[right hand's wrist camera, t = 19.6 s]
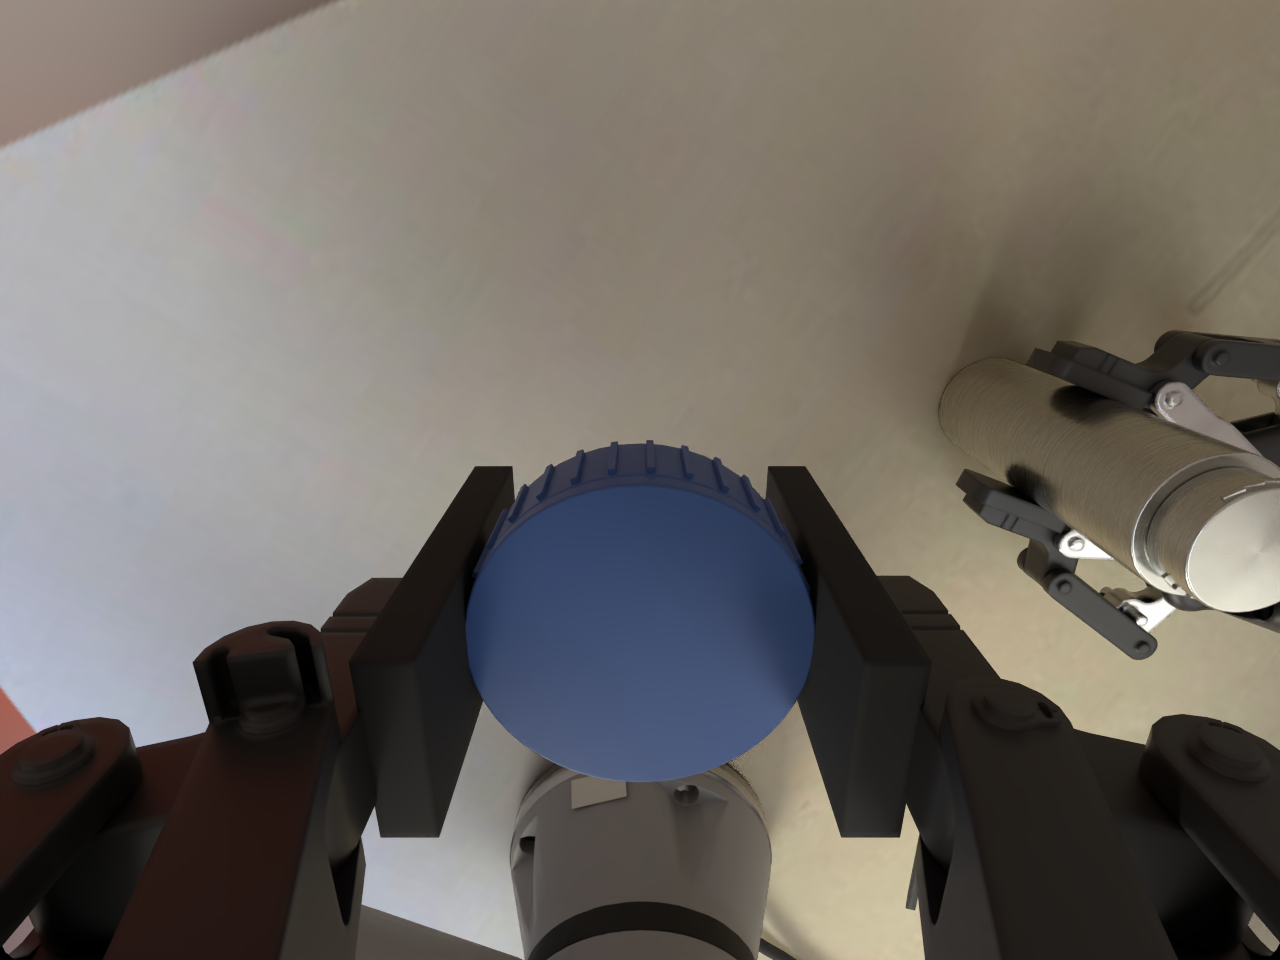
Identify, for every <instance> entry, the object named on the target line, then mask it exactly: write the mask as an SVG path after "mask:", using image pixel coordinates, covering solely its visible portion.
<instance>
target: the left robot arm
mask: <svg viewBox="0 0 1280 960" xmlns="http://www.w3.org/2000/svg"><path fill="white" fill-rule="evenodd" d="M1026 365H1027V366H1030V367H1032V368H1035V369H1037V370H1040V371H1042V372H1044V373H1047V374H1049V375H1052V376H1054V377H1057V378H1059V379H1062V380H1064V381H1066V382H1069V383H1071V384H1074V385H1076V386H1079V387H1081V388H1084V389H1087V390H1089V391H1092V392H1094V393H1097V394H1100V395H1102V396H1105V397H1107V398H1110V399H1113V400H1115V401H1119V402H1121V403H1124V404H1127V405H1129V406H1132V407H1134V408H1137V409H1140V410H1142V411H1145V412H1147V413H1150V414H1153V415H1155V416H1158V417H1160V418H1163V419H1166V420H1168V421H1171V422H1173V423H1176V424H1179V425H1181V426H1184V427H1186V428H1189V429H1192V430H1194V431H1197V432H1199V433H1202V434H1205V435H1207V436H1210V437H1212V438H1215V439H1218V440H1220V441H1223V442H1226V443H1228V444H1231V445H1233V446H1236V447H1239V448H1241V449H1244V450H1246V451H1249V452H1252V453H1254V454H1257V455H1259V456H1262V457H1264V458H1266V459H1268V460H1270V461H1272V462H1273V463H1274V464H1276V465H1277V466H1278V467H1279V468H1280V340H1275V339H1264V338H1253V337H1242V336H1232V335H1221V334H1210V333H1199V332H1188V331H1178V330H1173V331H1169V332H1166V333H1165V334H1163V335H1162V336H1161V337H1160V338H1159V339H1158V340H1157V342H1156V344H1155V347H1154V354H1152V355H1151V356H1150V357H1149V358H1148V359H1146V360H1145V361H1143V362H1141V363H1137V364H1134V363H1131V362H1129V361H1126V360H1124V359H1122V358H1119V357H1117V356H1114V355H1112V354H1109V353H1107V352H1105V351H1103V350H1100V349H1098V348H1095V347H1092V346H1088V345H1085V344H1081V343H1078V342H1074V341H1057V342H1056V344H1055V346H1054V348H1053V349H1052V351H1051V353H1050V352H1047V351H1044V350H1041V349H1038V348H1035V350H1034V351H1033V353H1032V355H1031V356H1030V358H1029V360H1028V362H1027V363H1026ZM1209 375H1214V376H1225V377H1236V378H1247V379H1252V381H1253V382H1256V383H1257V387H1258V390H1259V391H1260V393H1262V394H1263V395H1267V396H1270V397H1272V398H1273V399H1274V401H1275V403H1276V410H1275V412H1271V413H1266V414H1262V415H1258V416H1254V417H1250V418H1246V419H1242V420H1238V421H1233V422H1228V421H1226V420H1224V419H1222V418H1221V417H1219V416H1217V415H1216V414H1215V413H1213V412H1212V411H1211V410H1210V408H1209V407H1208V406H1207V405H1206V404H1205V403H1204V402H1203V401H1202V400H1201V399H1200V398H1199V397H1198V396H1197V395H1196V394H1195V393H1194V392H1193V391H1192V389H1193V388H1195V387H1196V386H1197V385H1198V384H1199V383H1200V382H1202V381H1203V380H1204V379H1205V378H1206V377H1207V376H1209ZM956 485H957V486H958V487H959V488H960V489H962V490H963V491H964V492H965V493H966V496H965V497H964V499H963V501H964V502H965V503H966V504H967V505H968V506H969V507H970V508H971V509H972V510H973V511H974V512H975V513H977V514H978V515H979V516H980V517H981V518H982V519H983V520H985V521H986V522H987V523H989V524H992V525H994V526H997V527H1000V528H1002V529H1005V530H1009V531H1011V532H1013V533H1016V534H1019V535H1021V536H1024V537H1027V538H1029V539H1030V541H1029V546H1028V548H1026V549H1024V550H1023V551H1022V552H1021V553H1020V554H1019V556H1018V558H1017V564H1018V566H1019V568H1021V569H1022V570H1023V571H1024V572H1025V573H1026V574H1027V575H1028V576H1030V577H1031V578H1032V579H1034V580H1035V581H1036V582H1037V583H1039V584H1040V585H1041V586H1042V587H1043V589H1044V591H1046V592H1047V593H1048V594H1049V595H1050V596H1051V597H1052V598H1053V599H1055V600H1056V601H1057V602H1059V603H1060V604H1061V605H1062V606H1064V607H1065V608H1066V609H1068V610H1069V611H1070V612H1072V613H1073V614H1074V615H1076V616H1077V617H1078V618H1080V619H1081V620H1082V621H1083V622H1085V623H1086V624H1087V625H1089V626H1090V627H1091V628H1093V629H1094V630H1095V631H1097V632H1098V633H1099V634H1100V635H1102V636H1103V637H1104V638H1106V639H1107V640H1108V641H1110V642H1111V643H1112V644H1114V645H1115V646H1116V647H1118V648H1119V649H1120V650H1121V651H1123V652H1124V653H1125V654H1127V655H1128V656H1129V657H1131V658H1132V659H1135V660H1142V659H1145V658H1148V657H1149V656H1151V655H1152V654H1153V653H1154V652H1155V651H1156V649H1157V640H1156V639H1155V638H1154V637H1153V636H1152V635H1151V634H1149V633H1150V632H1151V631H1152V630H1153V629H1154V628H1155V627H1157V626H1158V625H1159V624H1160V623H1161V622H1162V621H1164V620H1165V619H1166V618H1167V617H1168V616H1169V615H1171V614H1172V613H1173V612H1174V611H1175V610H1176V609H1179V610H1183V611H1200V610H1215V609H1212V608H1210V607H1208V606H1205V605H1204V604H1202V603H1201V602H1199V601H1198V600H1196V599H1191V598H1189V597H1187V596H1180V595H1173V594H1169V593H1166V592H1163V591H1160V590H1158V589H1156V588H1154V587H1153V586H1151V585H1149V584H1148V583H1147V582H1145V583H1146V585H1147V588H1145V589H1144V590H1142V591H1139V592H1130V591H1127V590H1126V589H1123V588H1116V589H1113V590H1112V589H1111V588H1109V587H1105V588H1103V589H1101V591H1100V593H1098V592H1097V591H1096V590H1094V589H1093V588H1092V587H1091V586H1089V585H1088V584H1087V583H1086V582H1084V581H1083V580H1082V579H1080V578H1079V577H1078V576H1077V575H1075V574H1074V573H1075V569H1076V566H1077V562H1078V558H1085V559H1110V560H1115V559H1113V558H1112V557H1110V556H1109V555H1108V554H1106V553H1105V552H1103V551H1102V550H1101V549H1099V548H1098V547H1096V546H1095V545H1094V544H1092V543H1091V542H1090V541H1088V540H1087V539H1085V538H1084V537H1083V536H1081V535H1080V534H1078V533H1077V532H1076V531H1074V530H1073V529H1071V528H1070V527H1069V526H1067V525H1066V524H1065V523H1063V522H1062V521H1060V520H1059V519H1058V518H1056V517H1055V516H1053V515H1052V514H1051V513H1049V512H1048V511H1046V510H1045V509H1044V508H1042V507H1041V506H1039V505H1038V504H1037V503H1035V502H1034V501H1033V500H1031V499H1030V498H1028V497H1027V496H1026V495H1024V494H1023V493H1021V492H1020V491H1019V490H1017V489H1016V488H1014V487H1013V486H1011V485H1008V484H1005V483H1003V482H1000V481H997V480H995V479H992V478H989V477H987V476H984V475H982V474H979V473H976V472H974V471H971V470H968V469H964V471H963V472H962V474H961V476H960V478H959V479H958V481H957V483H956ZM1217 611H1219V610H1217ZM1221 612H1223V613H1226V614H1229V615H1231V616H1234V617H1237V618H1239V619H1242V620H1245V621H1248V622H1250V623H1253V624H1256V625H1258V626H1261V627H1264V628H1267V629H1269V630H1272V631H1275V632H1277V633H1280V602H1278V603H1276V604H1274V605H1271V606H1269V607H1266V608H1263V609H1260V610H1256V611H1250V612H1242V613H1231V612H1224V611H1221Z"/></svg>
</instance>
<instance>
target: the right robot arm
mask: <svg viewBox="0 0 1280 960" xmlns="http://www.w3.org/2000/svg"><path fill="white" fill-rule="evenodd" d="M767 497H768V498H769V499H770V501H771V503H772V505H773V507H774V509H775V511H776V514H777V516H778V518H779V520H780V523H781V524H784V523H785V525H786V527H787V529H788V531H789V534H790V536H791V538H792V540H793V542H794V544H795V547H796V549H797V551H798V553H799V555H800V557H801V559H802V562H803V564H801V565H800V567H801V569H802V571H803V573H804V576H805V578H806V580H807V582H808V584H809V587H810V589H811V590H810V597H811V601H812V604H813V608H814V616H815V635H814V645H813V654H812V662H811V668H810V671H809V674H808V677H807V680H806V682H805V685H804V687H803V689H802V691H801V693H800V695H799V697H798V699H797V701H798V704H799V707H800V710H801V713H802V716H803V720H804V723H805V726H806V729H807V732H808V735H809V738H810V741H811V744H812V748H813V751H814V754H815V757H816V760H817V763H818V766H819V769H820V772H821V776H822V779H823V782H824V785H825V788H826V791H827V794H828V797H829V800H830V804H831V807H832V810H833V813H834V816H835V819H836V822H837V825H838V828H839V832H840V835H841V837H900V834H901V828H902V823H903V817H904V812H905V806H906V804H907V806H908V808H909V811H910V813H911V815H912V817H913V819H914V822H915V824H916V826H917V828H918V831H919V833H920V834H919V839H918V844H917V849H916V854H915V859H914V864H913V869H912V874H911V880H910V885H909V890H908V895H907V902H906V908H907V909H911V910H915V908H916V903H917V898H918V901H919V910H920V918H921V927H922V936H923V945H924V954H925V960H1280V944H1279V946H1278V948H1277V950H1276V951H1275V952H1273V951H1271V950H1270V949H1269V948H1268V947H1266V946H1265V945H1264V944H1263V943H1262V942H1261V941H1260V940H1259V938H1258V937H1257V936H1256V935H1255V934H1254V932H1253V931H1252V930H1251V929H1250V928H1249V926H1248V924H1249V921H1250V919H1251V917H1252V915H1253V913H1254V912H1255V914H1256V915H1257V916H1258V917H1259V918H1260V919H1261V921H1262V922H1263V923H1264V924H1265V925H1266V926H1267V928H1268V929H1269V930H1270V931H1271V932H1272V934H1273V935H1274V936H1275V937H1276V938H1277V939H1278V941H1279V942H1280V750H1278V749H1277V748H1275V747H1274V746H1273V745H1271V744H1270V743H1268V742H1267V741H1266V740H1264V739H1262V738H1259V737H1257V736H1255V735H1253V734H1251V733H1249V732H1247V731H1245V730H1243V729H1242V728H1240V727H1238V726H1235V725H1232V724H1230V723H1227V722H1221V721H1220V720H1216V719H1212V718H1208V717H1201V716H1193V715H1185V714H1179V715H1172V716H1164V717H1162V718H1161V719H1159V720H1158V721H1157V722H1156V723H1154V724H1153V725H1152V728H1151V731H1150V734H1149V737H1148V740H1147V743H1146V745H1144V744H1139V743H1134V742H1129V741H1125V740H1120V739H1115V738H1110V737H1106V736H1101V735H1096V734H1091V733H1087V732H1084V731H1080V730H1076V729H1074V728H1073V726H1072V724H1071V722H1070V721H1069V719H1068V718H1067V717H1066V715H1065V714H1064V713H1063V711H1062V710H1061V709H1060V707H1059V706H1057V705H1056V704H1055V703H1053V702H1052V701H1051V700H1049V699H1048V698H1047V697H1045V696H1044V695H1042V694H1041V693H1039V692H1037V691H1035V690H1032V689H1030V688H1028V687H1026V686H1024V685H1022V684H1019V683H1016V682H1012V681H1008V680H1004V679H1001V678H1000V677H999V676H998V674H997V673H996V672H995V671H994V669H993V668H992V667H991V665H990V664H989V663H988V662H987V660H986V659H985V658H984V656H983V655H982V654H981V652H980V651H979V650H978V649H977V647H976V646H975V645H974V643H973V642H972V641H971V640H970V638H969V637H968V636H967V634H966V633H965V632H964V631H963V630H960V625H959V624H958V623H957V621H956V620H955V619H954V618H953V616H952V615H951V614H948V610H947V609H946V607H945V606H944V605H943V603H942V602H941V601H940V599H939V598H938V597H937V596H936V594H935V593H934V592H933V591H932V590H930V589H928V588H927V587H925V586H924V585H922V584H921V583H919V582H918V581H916V580H914V579H913V578H911V577H910V576H876V575H875V573H874V571H873V570H872V568H871V567H870V565H869V564H868V562H867V561H866V559H865V558H864V556H863V555H862V553H861V551H860V550H859V548H858V547H857V545H856V544H855V542H854V541H853V539H852V538H851V536H850V535H849V533H848V531H847V530H846V528H845V527H844V525H843V524H842V522H841V521H840V519H839V518H838V516H837V515H836V513H835V511H834V510H833V508H832V507H831V505H830V504H829V502H828V501H827V499H826V498H825V496H824V495H823V493H822V491H821V490H820V488H819V487H818V485H817V484H816V482H815V481H814V479H813V478H812V476H811V475H810V473H809V471H808V470H807V468H806V467H805V466H768V475H767V489H766V498H767ZM514 502H515V497H514V483H513V469H512V466H475V467H474V469H473V471H472V472H471V474H470V475H469V477H468V478H467V480H466V481H465V483H464V484H463V486H462V488H461V489H460V491H459V492H458V494H457V495H456V497H455V498H454V500H453V501H452V503H451V504H450V506H449V508H448V509H447V511H446V512H445V514H444V515H443V517H442V518H441V520H440V521H439V523H438V524H437V526H436V528H435V529H434V531H433V532H432V534H431V535H430V537H429V538H428V540H427V541H426V543H425V544H424V546H423V548H422V549H421V551H420V552H419V554H418V555H417V557H416V558H415V560H414V561H413V563H412V564H411V566H410V568H409V569H408V571H407V572H406V574H405V575H404V577H403V578H371V579H370V580H368V581H367V582H365V583H364V584H362V585H361V586H359V587H357V588H356V589H354V590H353V591H351V592H350V593H348V594H347V595H346V596H345V598H344V599H343V600H342V602H341V603H340V604H339V606H338V607H337V608H336V609H335V611H334V612H333V617H329V619H328V620H327V621H326V622H325V624H324V625H323V626H322V628H321V632H319V631H318V630H317V629H316V628H314V627H313V626H312V625H310V624H306V623H301V622H297V621H275V622H268V623H263V624H259V625H254V626H249V627H246V628H244V629H241V630H239V631H236V632H234V633H231V634H229V635H226V636H224V637H222V638H221V639H219V640H218V641H216V642H214V643H213V644H211V645H210V646H208V647H207V648H205V649H204V650H203V651H202V652H201V654H200V655H199V656H198V657H197V658H196V659H195V660H194V661H193V666H194V669H195V673H196V676H197V680H198V683H199V687H200V690H201V694H202V698H203V701H204V705H205V708H206V712H207V715H208V719H209V722H210V723H209V725H208V728H207V730H206V732H204V733H200V734H197V735H193V736H189V737H184V738H180V739H175V740H170V741H165V742H161V743H156V744H151V745H147V746H142V747H137V748H136V747H135V744H134V741H133V738H132V735H131V732H130V729H129V727H127V726H126V725H125V724H123V723H122V722H121V721H120V720H117V719H110V718H103V717H96V718H89V719H81V720H74V721H70V722H66V723H62V724H61V725H58V726H57V725H55V726H52V727H50V728H47V729H44V730H42V731H40V732H39V733H37V734H35V735H33V736H31V737H29V738H27V739H25V740H23V741H21V742H18V743H17V744H15V745H14V746H12V747H11V748H9V749H8V750H7V751H5V752H4V753H2V754H1V755H0V960H522V959H520V958H518V957H515V956H512V955H509V954H506V953H503V952H500V951H497V950H494V949H491V948H488V947H485V946H482V945H479V944H476V943H474V942H471V941H468V940H465V939H462V938H459V937H456V936H453V935H450V934H447V933H444V932H441V931H438V930H435V929H432V928H429V927H426V926H424V925H421V924H418V923H415V922H412V921H409V920H406V919H403V918H400V917H397V916H394V915H391V914H388V913H385V912H382V911H379V910H376V909H373V908H371V907H368V906H365V905H362V904H361V903H362V894H363V885H364V876H365V867H366V863H365V856H364V849H363V844H362V839H361V835H362V833H363V831H364V828H365V826H366V824H367V822H368V819H369V817H370V815H371V813H372V811H373V808H374V806H375V810H376V815H377V820H378V826H379V831H380V837H439V836H440V833H441V830H442V827H443V824H444V820H445V817H446V814H447V811H448V808H449V805H450V802H451V799H452V796H453V792H454V789H455V786H456V783H457V780H458V777H459V774H460V771H461V768H462V764H463V761H464V758H465V755H466V752H467V749H468V746H469V743H470V740H471V736H472V733H473V730H474V727H475V724H476V721H477V718H478V715H479V712H480V708H481V705H482V702H483V699H482V697H481V695H480V693H479V691H478V689H477V687H476V685H475V683H474V680H473V677H472V674H471V671H470V667H469V659H468V650H467V640H466V630H465V616H466V608H467V603H468V600H469V597H470V593H471V590H472V586H473V584H474V582H475V580H476V578H473V577H472V574H473V571H474V569H475V567H476V565H477V563H478V561H479V558H480V556H481V554H482V552H483V550H484V548H485V545H486V543H487V541H488V539H489V537H490V536H491V534H492V531H493V529H494V527H495V525H496V523H497V521H498V518H499V516H500V514H501V512H502V511H503V509H504V508H505V509H506V510H508V511H509V509H510V507H511V506H512V504H513V503H514ZM771 861H772V853H771V844H770V839H769V835H768V830H767V825H766V820H765V817H764V813H763V810H762V807H761V805H760V802H759V800H758V799H757V797H756V795H755V793H754V792H753V790H752V789H751V788H750V786H749V785H748V784H747V783H746V782H745V781H744V779H743V778H742V777H741V776H740V775H738V774H737V773H736V772H735V771H734V770H733V769H731V768H730V767H729V766H727V765H726V764H723V765H721V766H718V767H715V768H713V769H710V770H707V771H705V772H702V773H699V774H695V775H691V776H687V777H683V778H678V779H671V780H664V781H653V782H628V781H615V780H609V779H603V778H597V777H593V776H589V775H586V774H582V773H578V772H575V771H573V770H570V769H567V768H565V767H562V766H560V765H557V764H556V765H555V766H553V767H552V768H551V769H549V770H548V771H547V772H546V773H544V774H543V775H542V776H541V777H540V778H539V779H538V780H537V781H536V783H535V784H534V785H533V786H532V787H531V789H530V790H529V792H528V793H527V794H526V796H525V798H524V800H523V802H522V804H521V806H520V809H519V811H518V814H517V819H516V823H515V828H514V833H513V838H512V843H511V849H510V867H511V876H512V882H513V888H514V894H515V901H516V907H517V913H518V919H519V925H520V932H521V938H522V944H523V950H524V956H525V960H757V958H758V951H759V952H761V953H762V954H764V955H766V956H767V957H769V958H771V959H773V960H796V959H795V958H793V957H792V956H790V955H789V954H787V953H786V952H784V951H782V950H780V949H779V948H777V947H775V946H774V945H772V944H770V943H768V942H767V941H765V940H764V939H762V938H761V932H762V925H763V919H764V912H765V905H766V899H767V892H768V886H769V880H770V872H771ZM27 916H29V918H30V920H31V922H32V924H33V926H34V929H33V930H32V931H31V932H30V934H29V935H28V936H27V937H26V938H25V940H24V941H23V942H22V943H21V944H20V945H19V946H18V947H17V948H16V949H14V950H13V951H12V952H11V953H10V954H9V955H8V954H7V953H6V952H5V951H4V949H3V947H2V945H3V944H4V943H5V942H6V941H7V940H8V938H9V937H10V936H11V935H12V934H13V932H14V931H15V930H16V929H17V928H18V926H19V925H20V924H21V923H22V922H23V921H24V919H25V918H26V917H27Z"/></svg>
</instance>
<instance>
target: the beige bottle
mask: <svg viewBox="0 0 1280 960" xmlns="http://www.w3.org/2000/svg"><path fill="white" fill-rule="evenodd" d="M939 420H940V424H941V427H942V430H943V432H944V433H945V435H946V437H947V438H948V439H949V440H950V441H951V442H952V443H953V444H955V445H956V446H957V447H959V448H960V449H962V450H963V451H964V452H966V453H967V454H969V455H970V456H971V457H973V458H974V459H976V460H977V461H978V462H980V463H981V464H982V465H984V466H985V467H987V468H988V469H989V470H991V471H992V472H994V473H995V474H996V475H998V476H999V477H1001V478H1002V479H1003V480H1005V481H1006V482H1008V483H1009V484H1010V485H1012V486H1013V487H1014V488H1016V489H1017V490H1019V491H1020V492H1021V493H1023V494H1024V495H1026V496H1027V497H1028V498H1030V499H1031V500H1033V501H1034V502H1035V503H1037V504H1038V505H1039V506H1041V507H1042V508H1044V509H1045V510H1046V511H1048V512H1049V513H1051V514H1052V515H1053V516H1055V517H1056V518H1058V519H1059V520H1060V521H1062V522H1063V523H1065V524H1066V525H1067V526H1069V527H1070V528H1071V529H1073V530H1074V531H1076V532H1077V533H1078V534H1080V535H1081V536H1083V537H1084V538H1085V539H1087V540H1088V541H1090V542H1091V543H1092V544H1094V545H1095V546H1096V547H1098V548H1099V549H1101V550H1102V551H1103V552H1105V553H1106V554H1108V555H1109V556H1110V557H1112V558H1113V559H1115V560H1116V561H1117V562H1119V563H1120V564H1122V565H1123V566H1124V567H1126V568H1127V569H1128V570H1130V571H1131V572H1133V573H1134V574H1135V575H1137V576H1138V577H1140V578H1141V579H1142V580H1144V581H1145V582H1147V583H1148V584H1149V585H1151V586H1153V587H1154V588H1156V589H1158V590H1160V591H1163V592H1166V593H1169V594H1173V595H1180V596H1187V597H1189V598H1191V599H1196V600H1198V601H1199V602H1201V603H1202V604H1204V605H1205V606H1208V607H1210V608H1212V609H1215V610H1219V611H1224V612H1231V613H1242V612H1250V611H1256V610H1260V609H1263V608H1266V607H1269V606H1271V605H1274V604H1276V603H1278V602H1280V468H1279V467H1278V466H1277V465H1276V464H1274V463H1273V462H1272V461H1270V460H1268V459H1266V458H1264V457H1262V456H1259V455H1257V454H1254V453H1252V452H1249V451H1246V450H1244V449H1241V448H1239V447H1236V446H1233V445H1231V444H1228V443H1226V442H1223V441H1220V440H1218V439H1215V438H1212V437H1210V436H1207V435H1205V434H1202V433H1199V432H1197V431H1194V430H1192V429H1189V428H1186V427H1184V426H1181V425H1179V424H1176V423H1173V422H1171V421H1168V420H1166V419H1163V418H1160V417H1158V416H1155V415H1153V414H1150V413H1147V412H1145V411H1142V410H1140V409H1137V408H1134V407H1132V406H1129V405H1127V404H1124V403H1121V402H1119V401H1115V400H1113V399H1110V398H1107V397H1105V396H1102V395H1100V394H1097V393H1094V392H1092V391H1089V390H1087V389H1084V388H1081V387H1079V386H1076V385H1074V384H1071V383H1069V382H1066V381H1064V380H1061V379H1059V378H1056V377H1054V376H1051V375H1048V374H1046V373H1043V372H1041V371H1038V370H1035V369H1033V368H1030V367H1028V366H1025V365H1022V364H1020V363H1017V362H1015V361H1012V360H1008V359H1003V358H990V359H985V360H981V361H978V362H975V363H973V364H971V365H969V366H967V367H966V368H964V369H963V370H962V371H960V372H959V373H958V374H957V375H956V376H955V377H954V378H953V379H952V380H951V382H950V383H949V384H948V386H947V387H946V389H945V391H944V393H943V395H942V398H941V401H940V407H939Z"/></svg>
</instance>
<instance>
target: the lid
mask: <svg viewBox="0 0 1280 960" xmlns="http://www.w3.org/2000/svg"><path fill="white" fill-rule="evenodd" d="M801 564H803V562H802V559H801V557H800V555H799V553H798V551H797V549H796V547H795V544H794V542H793V540H792V538H791V536H790V534H789V531H788V529H787V527H786V525H785V523H784V524H781V523H780V520H779V518H778V516H777V514H776V511H775V509H774V507H773V505H772V503H771V501H770V499H769V498H768V497H767V498H765V499H764V500H763V498H762V497H761V496H760V495H759V494H758V493H757V492H756V490H755V489H754V488H753V487H752V485H751V483H750V480H749V478H748V477H747V476H745V475H743V476H742V477H740V476H739V475H737V474H736V473H734V472H732V471H731V470H729V469H728V468H726V467H725V466H723V465H722V462H721V460H720V459H719V458H717V457H714V459H713V460H711V459H709V458H707V457H705V456H703V455H700V454H697V453H694V452H690V451H689V448H688V446H684V445H682V446H681V449H680V448H675V447H670V446H665V445H654V444H653V440H647V441H646V444H625V445H618V442H611V446H610V447H605V448H599V449H596V450H593V451H590V452H586V453H584V450H580V451H577V454H576V456H575V457H573V458H571V459H569V460H567V461H564V462H562V463H560V464H558V465H557V466H555V467H554V466H553V465H552V464H550V465H549V466H547V467H546V470H545V472H544V474H543V475H541V476H540V477H539V478H538V479H537V480H535V481H534V482H533V483H532V484H531V485H530V486H527V485H526V484H524V485H523V486H522V487H521V489H520V491H519V493H518V496H517V498H516V500H515V502H514V503H513V504H512V506H511V507H510V509H509V511H508V510H506V509H505V508H504V509H503V511H502V512H501V514H500V516H499V518H498V521H497V523H496V525H495V527H494V529H493V531H492V534H491V536H490V537H489V539H488V541H487V543H486V545H485V548H484V550H483V552H482V554H481V556H480V558H479V561H478V563H477V565H476V567H475V569H474V571H473V574H472V577H473V578H476V580H475V582H474V584H473V586H472V590H471V593H470V597H469V600H468V603H467V608H466V616H465V630H466V640H467V650H468V659H469V667H470V671H471V674H472V677H473V680H474V683H475V685H476V687H477V689H478V691H479V693H480V695H481V697H482V699H483V701H484V702H485V704H486V705H487V706H488V708H489V709H490V711H491V712H492V714H493V715H494V717H495V718H496V719H497V720H498V721H499V722H500V723H501V724H502V725H503V726H504V728H505V729H506V730H507V731H508V732H509V733H510V734H512V735H513V736H514V737H515V738H516V739H517V740H519V741H520V742H521V743H522V744H523V745H525V746H526V747H528V748H529V749H531V750H532V751H534V752H535V753H537V754H538V755H540V756H542V757H544V758H546V759H548V760H549V761H551V762H553V763H555V764H557V765H560V766H562V767H565V768H567V769H570V770H573V771H575V772H578V773H582V774H586V775H589V776H593V777H597V778H603V779H609V780H615V781H628V782H653V781H664V780H671V779H678V778H683V777H687V776H691V775H695V774H699V773H702V772H705V771H707V770H710V769H713V768H715V767H718V766H721V765H723V764H725V763H727V762H729V761H731V760H733V759H735V758H737V757H738V756H740V755H742V754H743V753H745V752H746V751H748V750H749V749H751V748H752V747H754V746H755V745H757V744H758V743H759V742H760V741H761V740H763V739H764V738H765V737H766V736H767V735H769V734H770V733H771V732H772V731H773V730H774V729H775V728H776V726H777V725H778V724H779V723H780V722H781V721H782V720H783V719H784V718H785V716H786V715H787V714H788V712H789V711H790V709H791V708H792V707H793V705H794V704H795V702H796V700H797V699H798V697H799V695H800V693H801V691H802V689H803V687H804V685H805V682H806V680H807V677H808V674H809V671H810V668H811V662H812V654H813V645H814V635H815V616H814V608H813V604H812V601H811V597H810V590H811V589H810V587H809V584H808V582H807V580H806V578H805V576H804V573H803V571H802V569H801V567H800V565H801Z"/></svg>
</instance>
